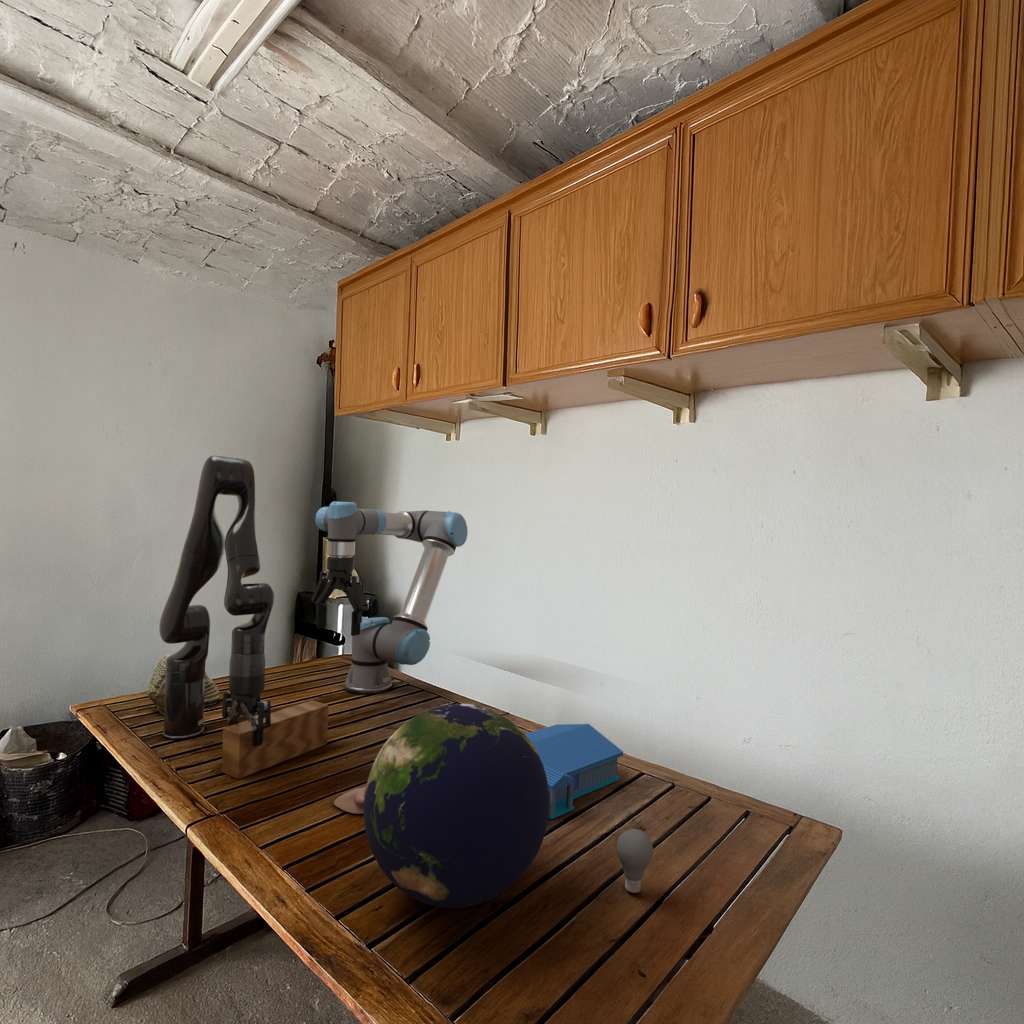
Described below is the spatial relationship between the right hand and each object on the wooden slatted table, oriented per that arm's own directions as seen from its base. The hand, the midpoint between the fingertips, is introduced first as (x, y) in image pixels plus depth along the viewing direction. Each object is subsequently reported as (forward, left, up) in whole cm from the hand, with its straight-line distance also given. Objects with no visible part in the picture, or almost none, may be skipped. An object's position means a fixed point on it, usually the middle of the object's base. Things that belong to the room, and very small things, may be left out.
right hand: (338, 631), depth 179 cm
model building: (+33, +58, -25) cm, 71 cm away
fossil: (-2, -46, -25) cm, 53 cm away
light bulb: (+68, +76, -25) cm, 105 cm away
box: (+27, -4, -25) cm, 37 cm away
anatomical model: (+45, +24, -25) cm, 57 cm away
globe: (+72, +47, -25) cm, 90 cm away
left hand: (+35, -8, -19) cm, 41 cm away
